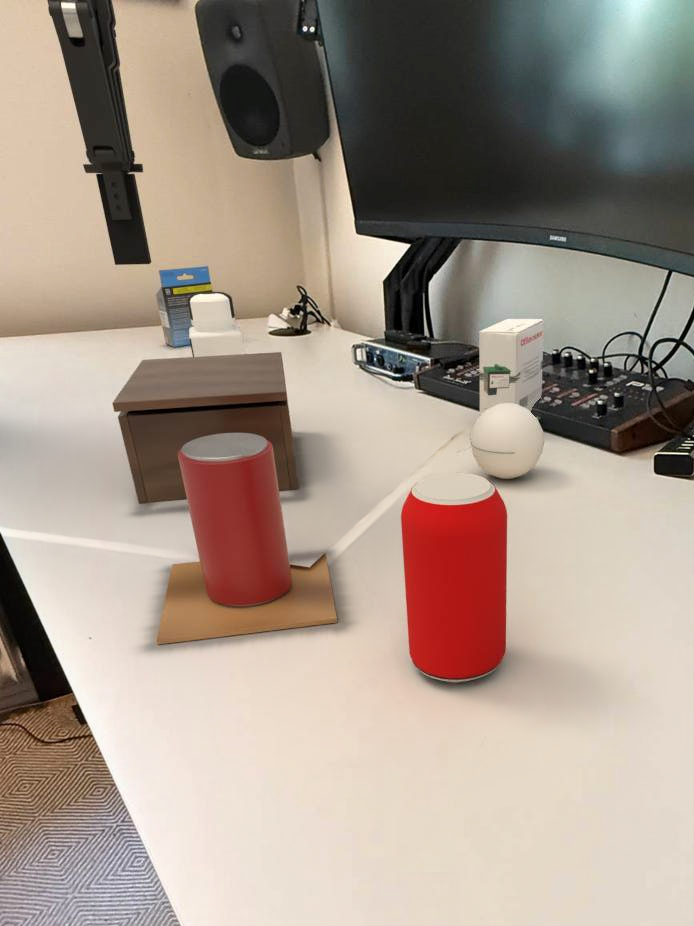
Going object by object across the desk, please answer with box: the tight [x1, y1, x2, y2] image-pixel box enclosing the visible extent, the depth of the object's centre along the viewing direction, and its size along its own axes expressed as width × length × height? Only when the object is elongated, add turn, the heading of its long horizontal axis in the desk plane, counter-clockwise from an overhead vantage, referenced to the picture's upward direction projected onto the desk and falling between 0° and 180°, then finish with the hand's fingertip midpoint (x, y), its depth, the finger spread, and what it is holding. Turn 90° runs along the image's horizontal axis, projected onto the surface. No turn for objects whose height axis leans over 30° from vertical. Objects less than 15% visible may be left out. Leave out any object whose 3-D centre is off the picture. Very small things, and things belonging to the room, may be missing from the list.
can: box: [178, 433, 292, 607], centre depth 57 cm, size 6×6×11 cm
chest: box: [117, 382, 300, 505], centre depth 81 cm, size 20×15×9 cm
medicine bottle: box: [187, 291, 246, 357], centre depth 115 cm, size 7×7×12 cm
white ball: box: [455, 403, 545, 480], centre depth 79 cm, size 10×7×7 cm
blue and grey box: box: [155, 265, 214, 348], centre depth 140 cm, size 9×4×12 cm, turn 130°
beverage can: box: [400, 472, 508, 683], centre depth 48 cm, size 6×6×12 cm
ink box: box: [478, 318, 545, 421], centre depth 93 cm, size 9×5×12 cm, turn 156°
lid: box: [112, 351, 288, 413], centre depth 78 cm, size 20×15×1 cm
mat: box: [156, 552, 338, 645], centre depth 60 cm, size 12×12×1 cm
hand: (133, 263), depth 67 cm, fingers closed
